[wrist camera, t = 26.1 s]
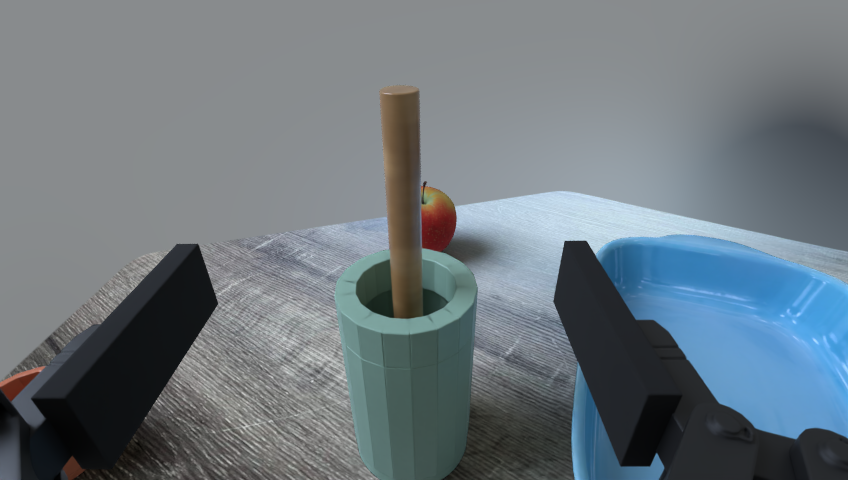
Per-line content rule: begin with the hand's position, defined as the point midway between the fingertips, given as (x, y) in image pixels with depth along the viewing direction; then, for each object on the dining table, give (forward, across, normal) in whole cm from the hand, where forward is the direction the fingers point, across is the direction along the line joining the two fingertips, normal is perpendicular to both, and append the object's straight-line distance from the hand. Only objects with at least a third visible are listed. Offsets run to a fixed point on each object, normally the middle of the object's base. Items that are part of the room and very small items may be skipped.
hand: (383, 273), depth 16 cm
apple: (+32, +1, -20) cm, 38 cm away
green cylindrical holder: (+7, 0, -20) cm, 21 cm away
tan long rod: (+7, 0, -19) cm, 20 cm away
